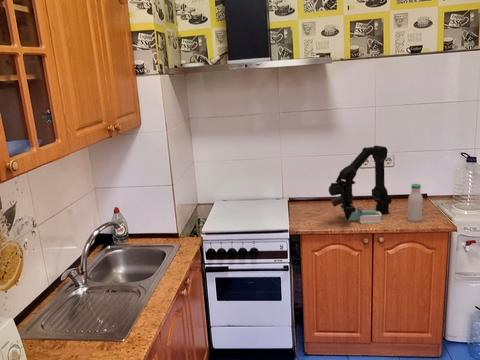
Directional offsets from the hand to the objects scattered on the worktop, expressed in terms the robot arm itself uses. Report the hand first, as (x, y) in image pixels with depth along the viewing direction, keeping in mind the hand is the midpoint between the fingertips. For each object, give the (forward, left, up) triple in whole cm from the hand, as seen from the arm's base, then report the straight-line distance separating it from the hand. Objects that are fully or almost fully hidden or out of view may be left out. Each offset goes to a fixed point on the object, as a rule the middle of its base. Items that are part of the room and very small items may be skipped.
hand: (347, 219), depth 236 cm
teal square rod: (-8, 0, 0) cm, 8 cm away
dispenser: (-12, 0, -1) cm, 13 cm away
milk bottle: (-36, +1, -2) cm, 37 cm away
